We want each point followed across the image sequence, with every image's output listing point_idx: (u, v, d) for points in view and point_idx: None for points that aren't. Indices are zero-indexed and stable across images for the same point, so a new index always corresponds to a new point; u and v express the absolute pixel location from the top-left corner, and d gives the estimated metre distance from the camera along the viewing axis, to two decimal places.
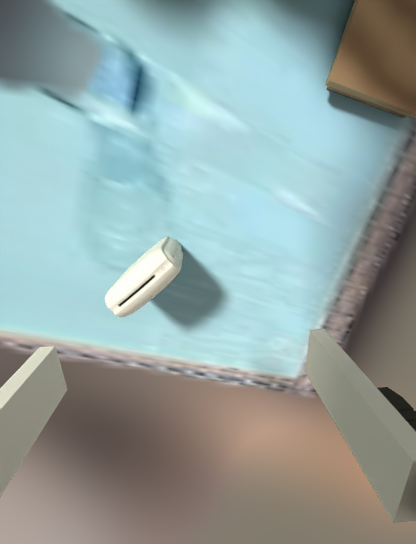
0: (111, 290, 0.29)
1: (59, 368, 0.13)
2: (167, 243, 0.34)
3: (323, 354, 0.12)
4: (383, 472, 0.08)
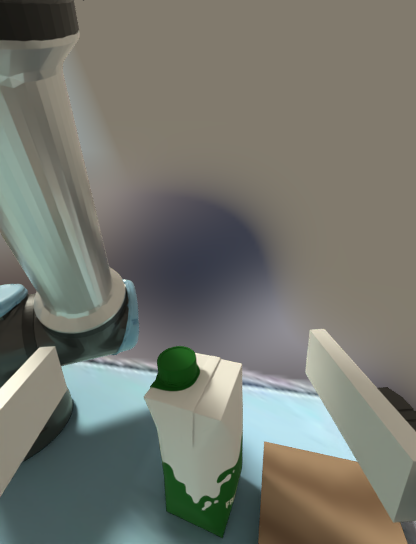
0: None
1: (59, 368, 0.13)
2: None
3: (323, 354, 0.12)
4: (383, 472, 0.08)
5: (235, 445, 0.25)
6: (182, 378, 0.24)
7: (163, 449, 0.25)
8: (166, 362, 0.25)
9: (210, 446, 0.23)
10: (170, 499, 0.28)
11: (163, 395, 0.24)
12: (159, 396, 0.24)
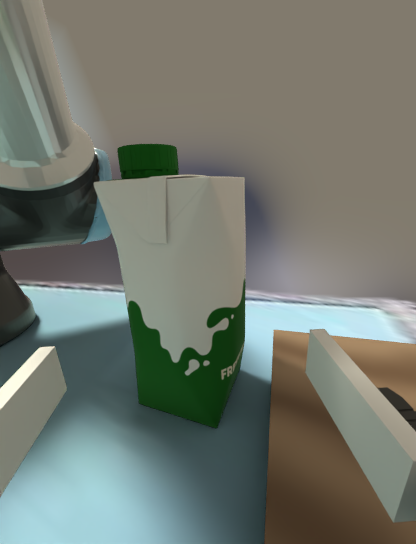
0: None
1: (59, 368, 0.13)
2: None
3: (323, 354, 0.12)
4: (383, 472, 0.08)
5: (235, 270, 0.17)
6: (153, 161, 0.16)
7: (125, 275, 0.16)
8: None
9: (195, 246, 0.14)
10: (141, 372, 0.19)
11: None
12: None
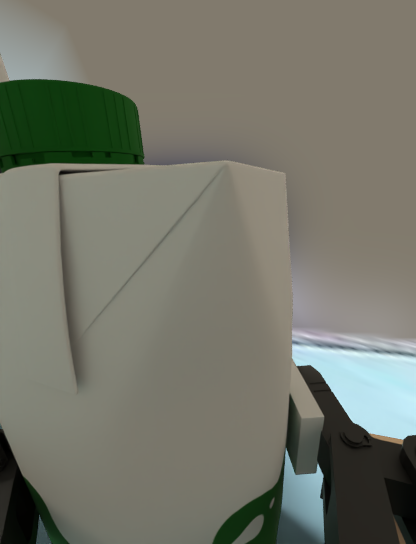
0: None
1: None
2: None
3: None
4: (290, 433, 0.09)
5: (282, 406, 0.07)
6: (65, 129, 0.06)
7: (2, 425, 0.06)
8: None
9: (174, 394, 0.04)
10: None
11: None
12: None
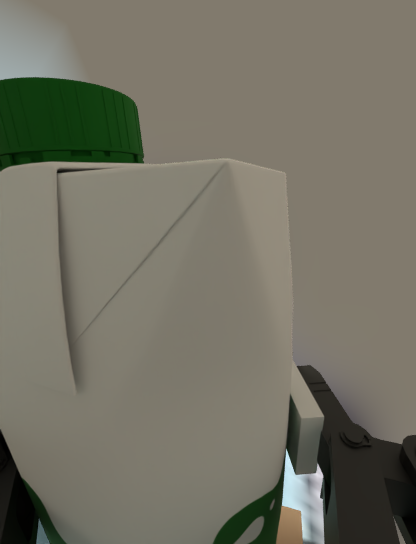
0: None
1: None
2: None
3: None
4: (290, 433, 0.09)
5: (282, 407, 0.06)
6: (64, 127, 0.06)
7: (0, 426, 0.06)
8: None
9: (173, 395, 0.04)
10: None
11: None
12: None
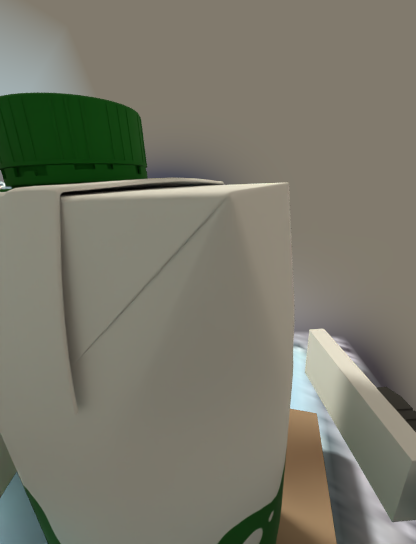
0: None
1: None
2: None
3: (322, 354, 0.12)
4: (382, 471, 0.08)
5: (282, 421, 0.06)
6: (68, 142, 0.06)
7: (3, 435, 0.06)
8: None
9: (173, 414, 0.04)
10: None
11: None
12: None
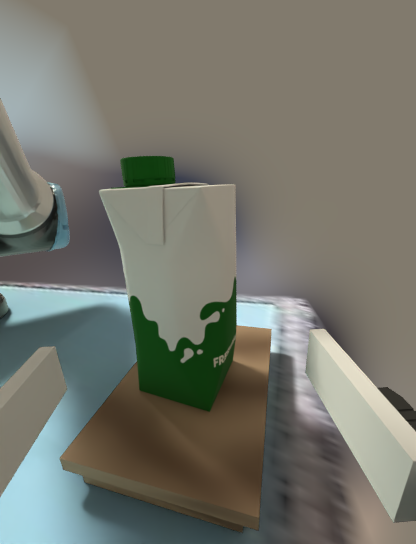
0: None
1: (59, 368, 0.13)
2: None
3: (323, 354, 0.12)
4: (383, 472, 0.08)
5: (225, 268, 0.18)
6: (152, 171, 0.18)
7: (127, 272, 0.18)
8: None
9: (188, 247, 0.16)
10: (141, 361, 0.21)
11: None
12: None
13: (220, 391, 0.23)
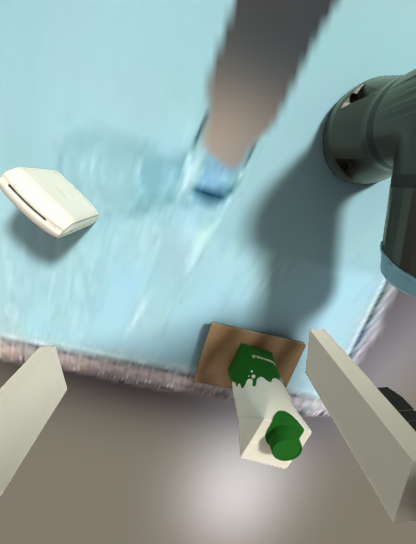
0: (24, 176, 0.32)
1: (59, 368, 0.13)
2: (86, 219, 0.39)
3: (323, 354, 0.12)
4: (383, 472, 0.08)
5: None
6: (270, 447, 0.34)
7: (247, 394, 0.39)
8: (283, 444, 0.32)
9: None
10: (239, 360, 0.47)
11: (262, 430, 0.34)
12: (262, 428, 0.34)
13: None
